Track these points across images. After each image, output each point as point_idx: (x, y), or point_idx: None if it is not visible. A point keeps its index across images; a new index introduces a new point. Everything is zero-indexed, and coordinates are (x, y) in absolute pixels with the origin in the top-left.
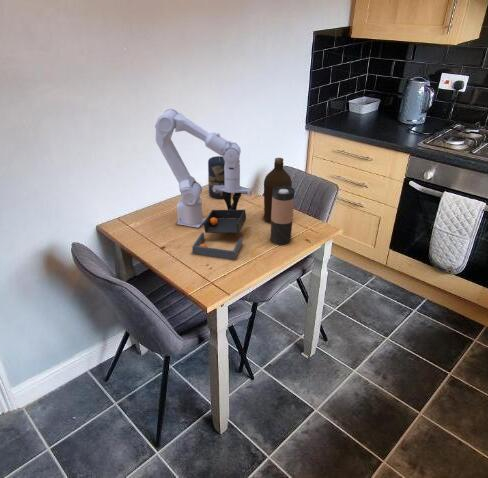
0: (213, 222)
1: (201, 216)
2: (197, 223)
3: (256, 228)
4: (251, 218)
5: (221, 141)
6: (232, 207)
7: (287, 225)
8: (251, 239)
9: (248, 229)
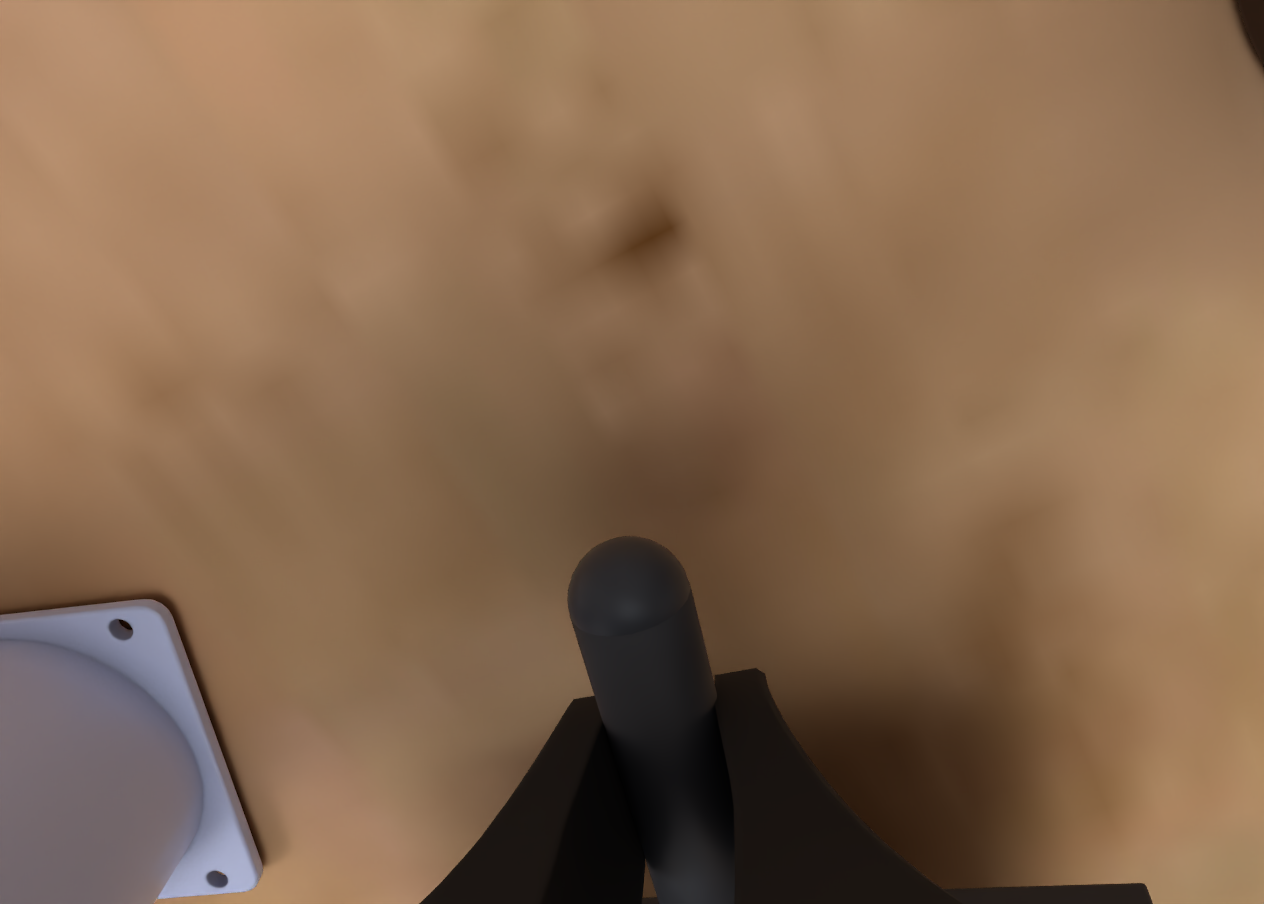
0: None
1: (137, 843)
2: (183, 854)
3: (1172, 492)
4: (936, 142)
5: None
6: (713, 847)
7: None
8: (1188, 831)
9: (1036, 585)
